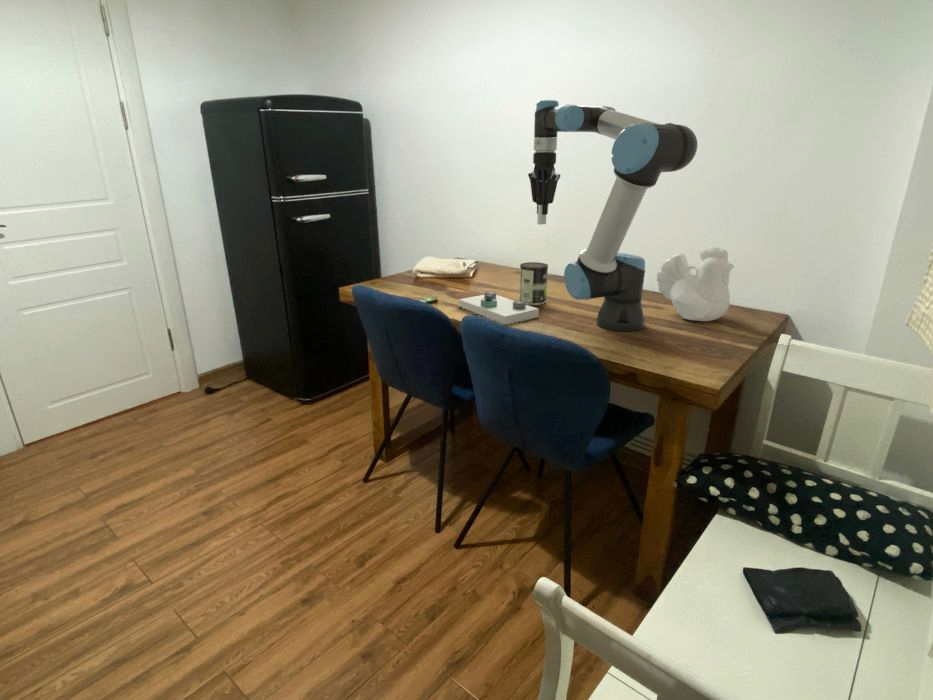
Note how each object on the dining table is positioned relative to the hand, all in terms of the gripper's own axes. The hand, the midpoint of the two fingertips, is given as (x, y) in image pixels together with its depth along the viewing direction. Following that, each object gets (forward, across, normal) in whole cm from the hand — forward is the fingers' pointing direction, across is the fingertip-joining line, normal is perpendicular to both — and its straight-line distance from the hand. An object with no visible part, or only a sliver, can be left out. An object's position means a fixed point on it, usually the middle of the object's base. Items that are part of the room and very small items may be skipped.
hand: (541, 224), depth 188 cm
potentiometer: (+27, -4, -20) cm, 34 cm away
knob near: (+29, +4, -13) cm, 32 cm away
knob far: (+29, -12, -13) cm, 34 cm away
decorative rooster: (+30, +40, +33) cm, 60 cm away
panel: (+30, -4, -16) cm, 34 cm away
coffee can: (+30, -6, +4) cm, 31 cm away
